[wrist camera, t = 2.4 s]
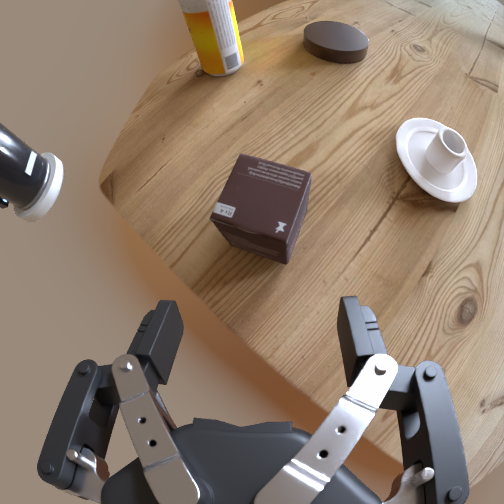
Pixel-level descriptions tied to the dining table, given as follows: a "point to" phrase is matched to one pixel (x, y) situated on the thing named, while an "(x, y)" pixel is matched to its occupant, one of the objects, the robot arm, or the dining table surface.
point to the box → (263, 207)
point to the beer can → (214, 35)
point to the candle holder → (437, 159)
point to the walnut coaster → (335, 42)
